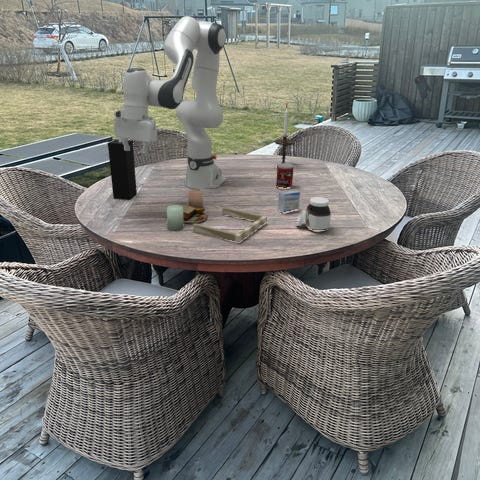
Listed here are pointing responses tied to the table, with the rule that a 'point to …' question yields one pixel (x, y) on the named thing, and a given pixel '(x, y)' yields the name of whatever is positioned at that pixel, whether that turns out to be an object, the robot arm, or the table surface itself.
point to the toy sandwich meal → (193, 214)
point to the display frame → (229, 235)
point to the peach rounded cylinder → (195, 198)
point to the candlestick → (285, 137)
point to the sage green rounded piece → (175, 217)
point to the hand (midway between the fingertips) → (135, 152)
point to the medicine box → (288, 200)
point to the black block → (122, 170)
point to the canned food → (284, 175)
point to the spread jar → (316, 214)
